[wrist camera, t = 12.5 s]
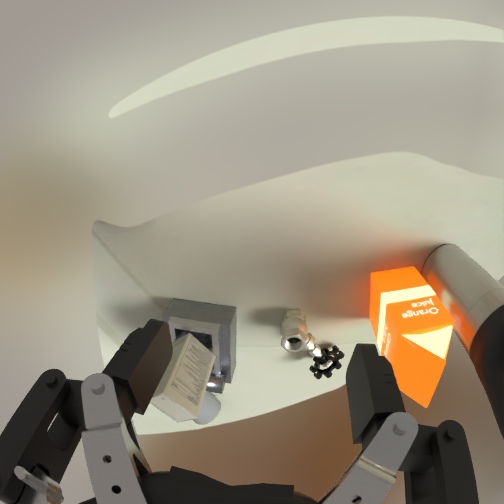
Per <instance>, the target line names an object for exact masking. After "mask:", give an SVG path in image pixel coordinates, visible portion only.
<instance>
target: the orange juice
mask: <svg viewBox="0 0 504 504" xmlns="http://www.w3.org/2000/svg"><path fill="white" fill-rule="evenodd" d="M369 318H370V321H371V324H372V327H373V330H374V333H375V336H376V339H377V343H378V346H379V350H380V353H381V355H382V356H385V357H386V358H387V359H388V361H389V362H390V363H391V364H392V367H393V370H394V373H395V374H394V376H395V377H396V380H397V383H398V386H399V390H401V391H402V392H404V393H405V394H407V395H408V396H409V397H411V398H412V399H414V400H415V401H416V402H418V403H419V404H421V405H422V406H424V407H425V408H427V406H428V404H429V402H430V399H431V397H432V395H433V393H434V391H435V388H436V386H437V384H438V381H439V379H440V376H441V374H442V371H443V369H444V366H445V363H446V360H445V359H446V354H447V351H448V347H449V342H450V338H451V333H452V330H453V326H454V322H455V321H454V319H453V318H452V317H451V315H450V314H449V312H448V311H447V309H446V308H445V307H444V305H443V304H442V302H441V301H440V300H439V298H438V297H437V296H436V293H435V292H434V291H433V289H432V288H431V287H430V286H429V285H428V284H427V282H426V281H425V280H424V278H423V277H422V276H421V275H420V273H419V272H418V271H417V270H416V268H415V267H414V266H413V267H407V268H400V269H393V270H387V271H380V272H372V273H371V293H370V316H369Z"/></svg>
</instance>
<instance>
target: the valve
mask: <svg viewBox="0 0 504 504" xmlns="http://www.w3.org/2000/svg"><path fill="white" fill-rule="evenodd" d="M280 331H281V336H282V338H281V346H282V347H283V348H284V349H285V350H286V351H288V352H299V351H305V350H308V353H309V354H311V355H312V356H313V357H314V358H313V360H314V361H315V364H314V367H313V366H311V367H310V371H312V372H313V373H314V377H316V378H317V379H320V378H321V377H322V374H324V375H325V376H326V377H327V378H329V377H331V376H332V373H331V371H332V370H333V369H334V368H336V369H340V368H341V366H342V365H341V363H340V362H339V361H338V360H339V359H342V358H343V357H344V353H343V352H342V351H339V348H338V347H337V346H333V347H332V349H333V350H332V351H329V350H328V349H327V348H324V349H322V351H321V348H320V347H319V346H318V345H317V344H314V342H315V337H314V336H313V335H312V334H311V333H307V331H308V329H307V324H306V316H305V315H304V314H303V313H302V312H301V311H300V310H299V309H295V310H287V312H286V314H285V316H284V318H283V323H282V325H281V330H280ZM338 352H339V354H337V353H338ZM330 355H333V356H334V357H332V356H330ZM331 361H332V362H333V363H332V365H331V366H330V367H328V366H329V365H330V364H331ZM320 364H321V365H323V366H324V367H328V368H327V369H324V370H321V369H320ZM316 371H317V374H316V373H315V372H316Z"/></svg>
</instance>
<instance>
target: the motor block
mask: <svg viewBox="0 0 504 504" xmlns="http://www.w3.org/2000/svg"><path fill="white" fill-rule="evenodd" d="M163 321H165V322H167V323H168V324H169V329H170V335H171V341H172V343H173V342H174V341H175V340H177V339H179V338H180V337H182V336H184V335H186V334H188V333H190V334H192V335H193V336H194V337H195V338H196V339H197V340H198V341H199V342H200V343H202V344H203V345H204V346H205V347H206V348H207V349H208V350H209V351H210V352H211V353H213V354H214V355H215V356H216V358H215V361H214V365H213V368H212V371H211V374H210V378H209V381H208V384H207V387H206V391H209V392H215V393H221V394H222V393H223V390H224V385H225V383H231V381H232V378H233V374H234V370H235V366H236V307H233V306H225V305H217V304H210V303H202V302H195V301H189V300H182V299H175V298H174V299H173V300H172V302H171V303H170V304H169V306H168V307H167V309H166V310H165V312H164V313H163Z"/></svg>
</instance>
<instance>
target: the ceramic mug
mask: <svg viewBox="0 0 504 504" xmlns="http://www.w3.org/2000/svg"><path fill="white" fill-rule="evenodd" d="M220 409H221V403H220V401H219V400H218V399H217V398H215V397H214V396H213V395H212V394H211V393H210V392H209V391H205V394H204V397H203V400H202V404H201V407H200V410H199V414H198V417H197V419H193V421H194V422H196V423H197V424H200V425H203V424H207V423H209V422H211V421H212V420H213V419H215V418H216V416H217V415H218V414H219V412H220Z"/></svg>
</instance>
